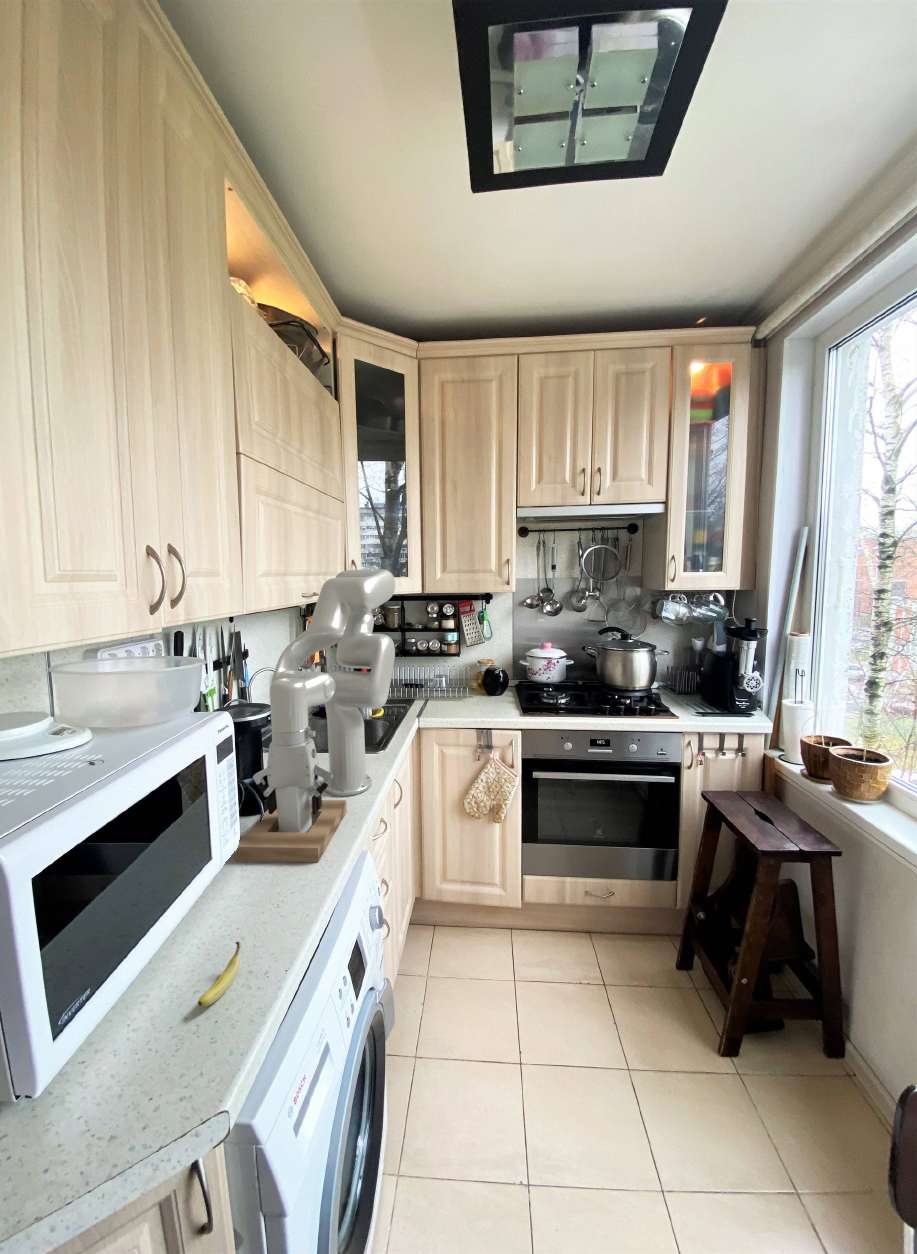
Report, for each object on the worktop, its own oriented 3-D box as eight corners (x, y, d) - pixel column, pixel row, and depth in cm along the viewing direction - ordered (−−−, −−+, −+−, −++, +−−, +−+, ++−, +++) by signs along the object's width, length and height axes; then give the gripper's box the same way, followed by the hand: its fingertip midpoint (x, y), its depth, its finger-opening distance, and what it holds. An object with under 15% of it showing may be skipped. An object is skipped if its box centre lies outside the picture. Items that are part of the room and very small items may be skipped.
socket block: (277, 811, 114) (276, 799, 114) (346, 811, 113) (346, 800, 113) (235, 860, 94) (234, 846, 94) (318, 861, 93) (318, 847, 93)
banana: (235, 964, 69) (234, 939, 68) (246, 966, 69) (245, 941, 68) (195, 1015, 61) (193, 987, 60) (207, 1017, 61) (205, 989, 60)
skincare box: (313, 831, 105) (310, 779, 103) (299, 841, 101) (296, 787, 99) (291, 826, 107) (289, 775, 106) (277, 836, 103) (274, 783, 102)
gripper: (335, 730, 105) (338, 803, 106) (259, 730, 105) (264, 802, 107) (324, 742, 97) (328, 820, 99) (243, 741, 98) (248, 819, 100)
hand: (294, 811), depth 103 cm, fingers open, 9 cm apart
